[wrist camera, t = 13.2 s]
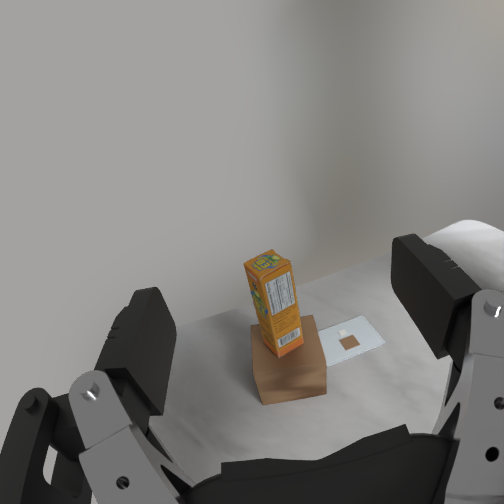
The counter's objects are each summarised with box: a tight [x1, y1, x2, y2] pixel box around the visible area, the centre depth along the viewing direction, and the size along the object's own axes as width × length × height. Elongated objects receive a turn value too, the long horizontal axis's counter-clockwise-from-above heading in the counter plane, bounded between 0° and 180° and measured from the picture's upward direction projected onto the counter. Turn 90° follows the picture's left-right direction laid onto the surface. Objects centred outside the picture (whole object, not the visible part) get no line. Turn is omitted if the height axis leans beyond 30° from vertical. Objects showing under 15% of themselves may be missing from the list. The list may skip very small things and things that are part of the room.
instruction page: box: [318, 315, 385, 367], centre depth 36 cm, size 8×6×1 cm
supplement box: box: [244, 250, 304, 358], centre depth 28 cm, size 3×4×10 cm
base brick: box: [251, 315, 327, 405], centre depth 31 cm, size 7×7×6 cm
